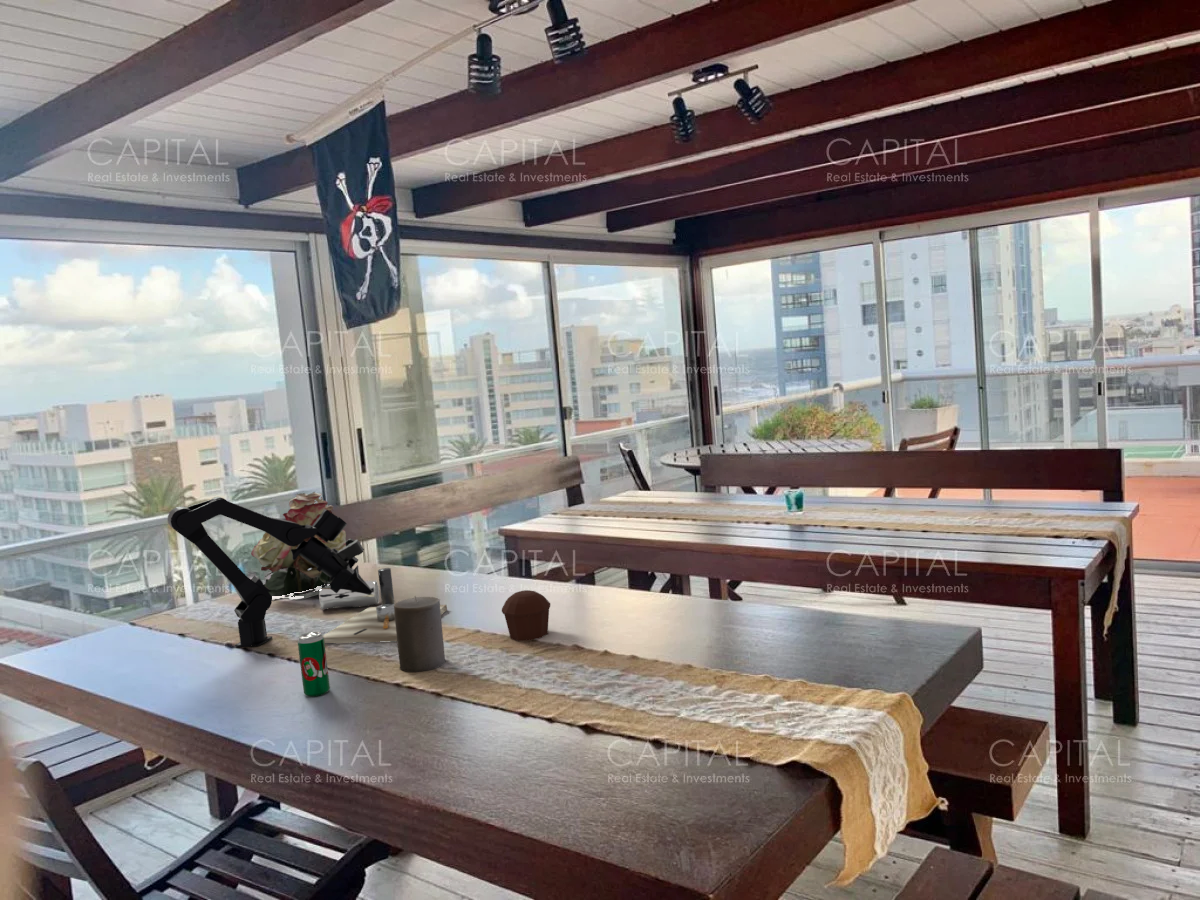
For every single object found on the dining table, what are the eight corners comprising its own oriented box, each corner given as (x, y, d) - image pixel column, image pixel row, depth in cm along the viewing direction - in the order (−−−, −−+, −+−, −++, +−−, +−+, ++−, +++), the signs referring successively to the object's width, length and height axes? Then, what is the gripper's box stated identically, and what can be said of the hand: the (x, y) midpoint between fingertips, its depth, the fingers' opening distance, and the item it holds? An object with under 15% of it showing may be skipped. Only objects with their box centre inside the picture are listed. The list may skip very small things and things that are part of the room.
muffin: (497, 634, 210) (492, 592, 209) (540, 624, 215) (536, 583, 214) (516, 646, 200) (511, 602, 199) (561, 635, 205) (557, 592, 204)
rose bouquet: (247, 605, 262) (234, 503, 259) (302, 580, 290) (291, 488, 287) (326, 603, 256) (314, 499, 253) (375, 577, 284) (364, 483, 281)
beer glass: (320, 613, 244) (376, 606, 245) (317, 587, 244) (373, 580, 246) (326, 610, 251) (380, 603, 252) (323, 585, 251) (377, 578, 253)
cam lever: (396, 626, 217) (391, 582, 216) (374, 629, 216) (369, 585, 215) (399, 608, 235) (394, 566, 234) (379, 610, 234) (374, 569, 233)
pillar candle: (400, 675, 187) (393, 604, 185) (398, 661, 196) (391, 594, 195) (448, 667, 189) (441, 598, 188) (443, 654, 199) (437, 587, 197)
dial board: (406, 641, 210) (405, 634, 210) (320, 643, 215) (319, 636, 215) (447, 610, 236) (446, 603, 236) (369, 612, 240) (368, 606, 240)
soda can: (321, 686, 184) (314, 629, 183) (335, 690, 181) (328, 632, 180) (299, 695, 180) (291, 636, 179) (313, 699, 177) (306, 640, 176)
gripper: (338, 537, 220) (389, 576, 223) (345, 525, 238) (392, 561, 241) (308, 573, 219) (360, 611, 222) (318, 558, 237) (366, 593, 240)
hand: (371, 592), depth 231 cm, fingers closed
